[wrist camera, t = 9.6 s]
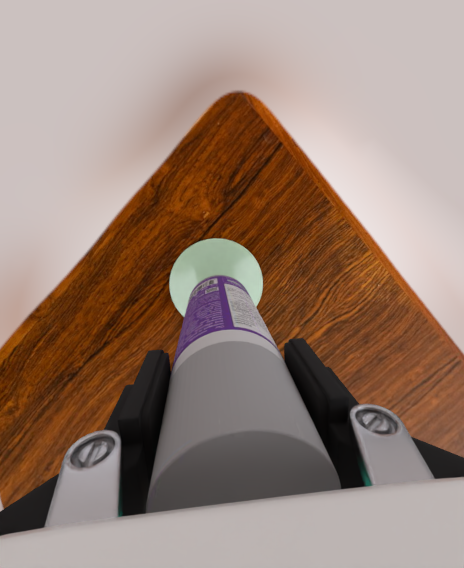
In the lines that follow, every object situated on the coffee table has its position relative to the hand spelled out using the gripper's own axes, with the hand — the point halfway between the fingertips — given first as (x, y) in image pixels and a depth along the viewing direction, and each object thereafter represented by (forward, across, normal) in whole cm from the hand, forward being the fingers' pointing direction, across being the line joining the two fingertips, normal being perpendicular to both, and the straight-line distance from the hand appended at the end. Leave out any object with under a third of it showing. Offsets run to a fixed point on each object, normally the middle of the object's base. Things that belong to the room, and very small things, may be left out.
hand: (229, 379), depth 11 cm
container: (+10, 0, 0) cm, 10 cm away
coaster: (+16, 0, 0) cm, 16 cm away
